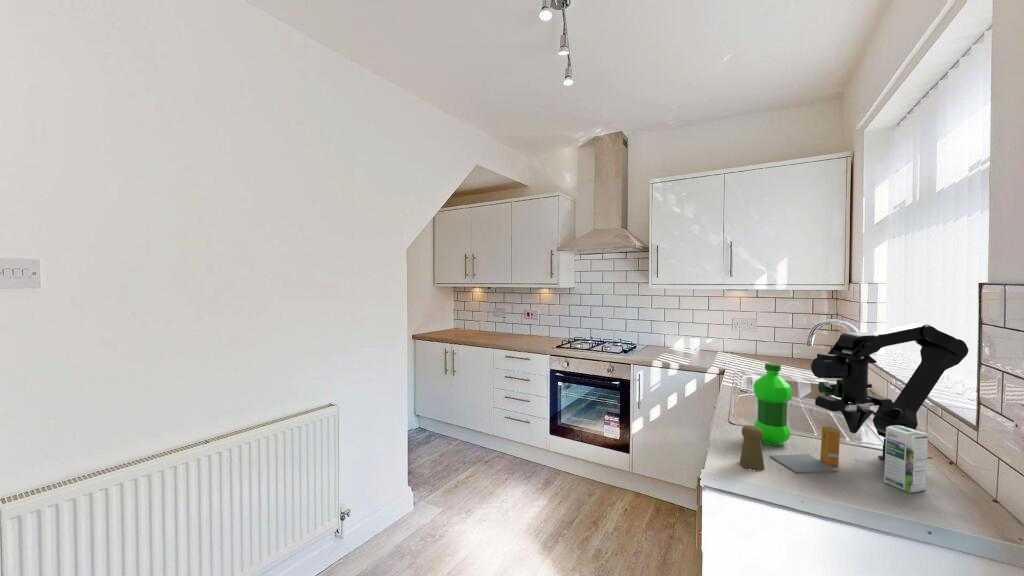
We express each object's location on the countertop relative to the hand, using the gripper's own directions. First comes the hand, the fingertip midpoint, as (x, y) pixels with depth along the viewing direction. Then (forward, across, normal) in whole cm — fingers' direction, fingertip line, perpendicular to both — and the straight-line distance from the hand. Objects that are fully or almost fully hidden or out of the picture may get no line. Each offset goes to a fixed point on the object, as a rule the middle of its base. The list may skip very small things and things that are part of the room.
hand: (853, 432), depth 113 cm
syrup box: (+9, -1, +13) cm, 16 cm away
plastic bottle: (+9, +13, -15) cm, 22 cm away
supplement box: (+9, +7, 0) cm, 11 cm away
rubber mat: (+8, +15, 0) cm, 17 cm away
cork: (+9, +30, 0) cm, 31 cm away
